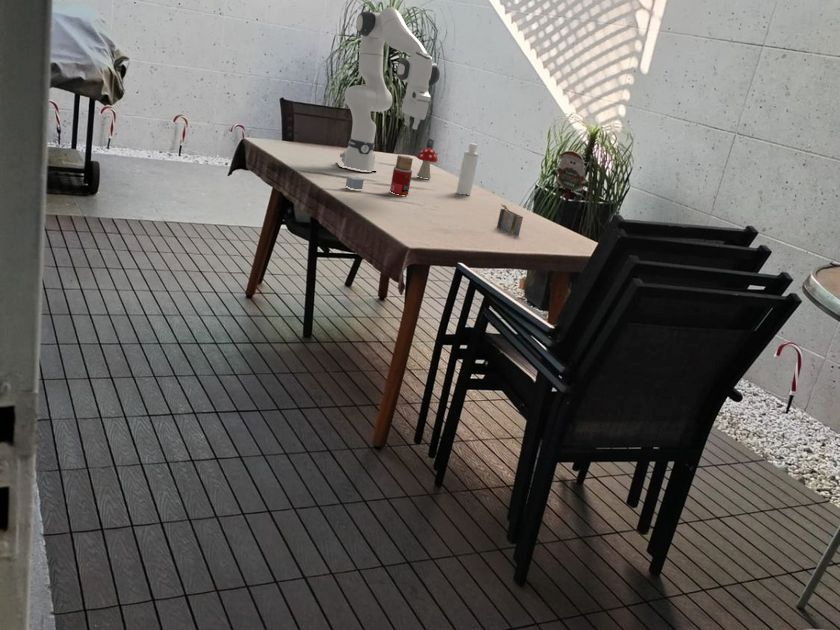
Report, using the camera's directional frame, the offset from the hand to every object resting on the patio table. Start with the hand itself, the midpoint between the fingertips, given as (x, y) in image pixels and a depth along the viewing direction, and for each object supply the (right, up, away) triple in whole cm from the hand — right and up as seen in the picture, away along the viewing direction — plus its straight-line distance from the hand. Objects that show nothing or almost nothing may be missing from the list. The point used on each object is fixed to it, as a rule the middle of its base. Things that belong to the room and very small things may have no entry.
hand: (410, 127), depth 338 cm
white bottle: (+24, -22, +40) cm, 52 cm away
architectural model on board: (+38, -46, -23) cm, 64 cm away
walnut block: (-3, -16, +6) cm, 18 cm away
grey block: (-24, -26, -1) cm, 35 cm away
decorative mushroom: (+6, -11, +61) cm, 63 cm away
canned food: (-5, -27, +9) cm, 29 cm away
